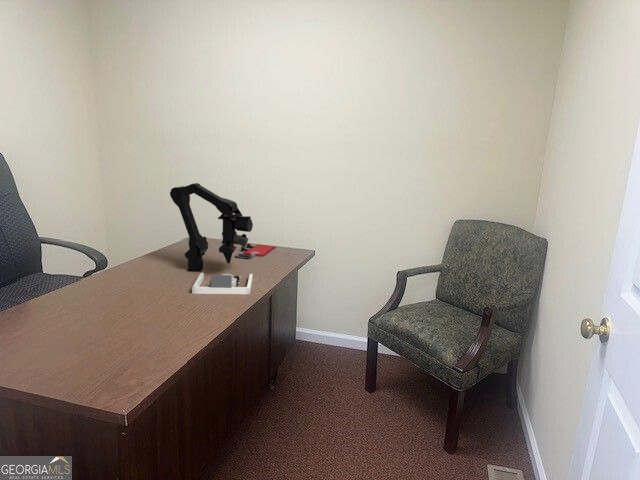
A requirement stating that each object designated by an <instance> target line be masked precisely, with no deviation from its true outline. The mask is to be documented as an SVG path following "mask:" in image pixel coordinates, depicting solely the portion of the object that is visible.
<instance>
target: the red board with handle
mask: <svg viewBox="0 0 640 480" xmlns="http://www.w3.org/2000/svg"><path fill="white" fill-rule="evenodd" d="M276 248H277V246H274V245H266V244H265V245H264V244H257V245H252V244H251V243H247V244H246V248H245V247H243V246H242V245H241V247H240V251H241V253H238V254H236V255H234V257H236V258H243V259H251V258H253V257H259V258H264V257H265V256H267V255H268V254H269V253H271V252H272V251H274V250H275V249H276Z"/></svg>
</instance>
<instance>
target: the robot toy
mask: <svg viewBox="0 0 640 480" xmlns="http://www.w3.org/2000/svg"><path fill="white" fill-rule="evenodd" d="M221 275H232V287H239V284H241V282H240V279H241V275H240V276H239V275H235V276H234V275H233V274H231V273H222V274H221ZM208 284H209V285H210V286H211V280H210V281H208Z"/></svg>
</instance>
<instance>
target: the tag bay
mask: <svg viewBox="0 0 640 480" xmlns="http://www.w3.org/2000/svg"><path fill="white" fill-rule="evenodd" d="M232 275H233V274H232ZM232 275H222V274H211V275H210V281H211V285H210V286H201V285H202V282H203V281H204V277H205V274H204V272H200V273H199V275H198V277H197V278H196V280H195V282H194V283H193V285H192V287H191V294H193V295H194V294H196V295H197V294H200V295H203V294H204V295H206V294H208V295H218V294H219V295H250V294H251V289H252V284H253V279H254V278H253V273H249V276H248V281H247V285H246V286H244V287H243V286H236V287H232Z"/></svg>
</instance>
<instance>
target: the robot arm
mask: <svg viewBox="0 0 640 480" xmlns="http://www.w3.org/2000/svg"><path fill="white" fill-rule="evenodd" d="M192 194H195V195H197V196H198V197H199V198H202V199H203V200H205V201H207V202H208V203H210V204H211V205H213V206H214V207H215V208H216V209H217V211H219V213H220V215H219V216H218V217H217V219H218V220H222V232H221V235H222V241H221V245H220V246H219V247H218V253H221V254H223V256H224V259H225V260H226V262H227V264H231V260H232V258H233V257H232V256H233V254H234V253H235V251H236V249H237V246H238V245H240V246H241V247H242V246H243V247H244V248H245V247H246V248H247V244H248V241H249V238H248V237H247V234H246V233H242V234H238V231H239V232H249V233H251V232H252V230H253V228H254V226H253V220H252V219H251V218H252V216H250V215H249V216H248V215H247V216H246V215H243V213H242V211H241V210H240V209H239V208H238V204H237V202H236V201H234V200H232V199H228V198H224V197H221V196H219V195H218V194H217V193H215V192H212V191H211V190H209V189H207V188H206V187H204V186H202V185H201V184H200V183H198V182H196V183H195V182H194V183H190V184H188V185H185V186H175V187H173V188H171V190H170V192H169V196H170V198H171V200H172V202H173V203H174V204H175V206H177V207H178V209H179V212H180V216H181V218H182V220H183V223H184V226H185V228H186V229H185V230H186V233H187V235H188V250H186V252H185V253H184V257H185V259H187V269H186V271H187V272H202V271H203V269H204V268H205V260H204V256H205V253H206V252H207V251H208V250H209V242H208V240H207V236H205V235H204V236H203V235H202V234H201V233H200V231H199V228H198V226H197V222H196V218H195V216H194V214H193V211H192V208H191V205H190V204H191V203H190V202H191V195H192ZM235 245H237V246H235Z"/></svg>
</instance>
